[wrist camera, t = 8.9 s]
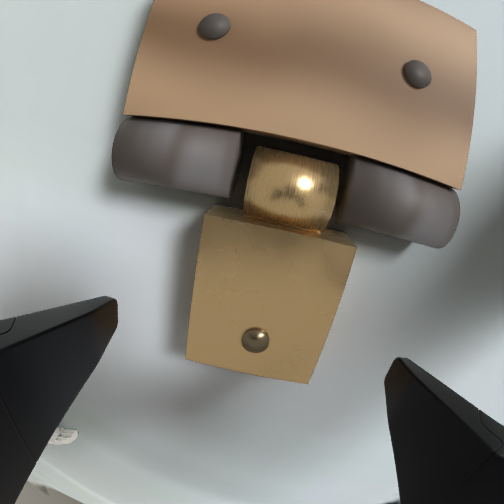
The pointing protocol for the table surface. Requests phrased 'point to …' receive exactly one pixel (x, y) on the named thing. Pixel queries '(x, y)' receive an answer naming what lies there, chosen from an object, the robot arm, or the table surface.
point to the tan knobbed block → (270, 271)
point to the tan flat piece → (309, 102)
